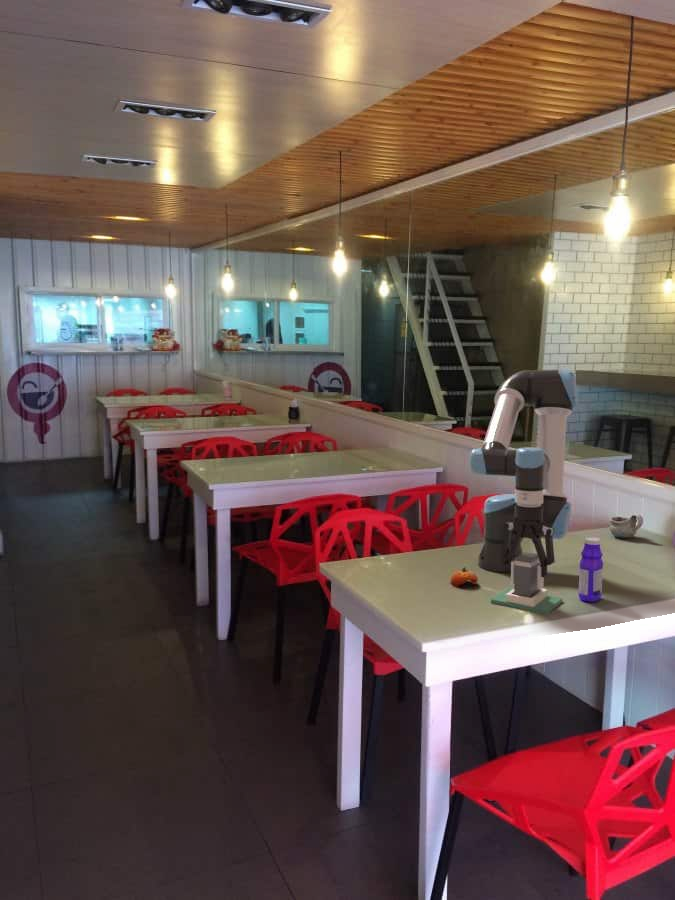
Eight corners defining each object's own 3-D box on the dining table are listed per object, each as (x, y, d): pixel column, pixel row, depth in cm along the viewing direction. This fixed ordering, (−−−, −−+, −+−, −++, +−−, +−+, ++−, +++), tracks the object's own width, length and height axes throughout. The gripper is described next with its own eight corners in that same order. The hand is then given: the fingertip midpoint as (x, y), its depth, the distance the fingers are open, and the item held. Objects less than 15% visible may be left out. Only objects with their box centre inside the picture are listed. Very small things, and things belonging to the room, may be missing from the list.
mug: (617, 533, 278) (618, 507, 277) (649, 539, 269) (650, 512, 268) (604, 537, 272) (605, 511, 271) (636, 543, 263) (637, 516, 261)
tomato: (485, 578, 219) (474, 564, 216) (477, 598, 216) (466, 583, 212) (463, 577, 225) (451, 563, 221) (455, 596, 221) (443, 582, 218)
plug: (513, 600, 201) (514, 557, 199) (524, 592, 207) (525, 551, 205) (529, 603, 198) (531, 560, 196) (540, 595, 204) (541, 553, 203)
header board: (490, 602, 202) (491, 592, 202) (508, 591, 212) (508, 581, 212) (546, 614, 193) (547, 603, 193) (562, 601, 203) (562, 591, 202)
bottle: (584, 593, 209) (586, 534, 207) (604, 597, 205) (607, 537, 203) (575, 600, 203) (577, 539, 201) (595, 604, 200) (597, 543, 198)
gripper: (489, 502, 202) (488, 582, 205) (560, 511, 190) (557, 595, 193) (500, 498, 208) (498, 576, 211) (569, 506, 196) (567, 588, 199)
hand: (527, 585), depth 202 cm, fingers open, 7 cm apart
